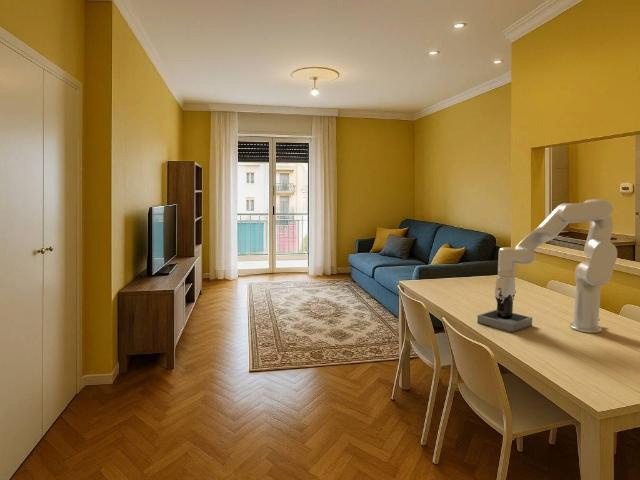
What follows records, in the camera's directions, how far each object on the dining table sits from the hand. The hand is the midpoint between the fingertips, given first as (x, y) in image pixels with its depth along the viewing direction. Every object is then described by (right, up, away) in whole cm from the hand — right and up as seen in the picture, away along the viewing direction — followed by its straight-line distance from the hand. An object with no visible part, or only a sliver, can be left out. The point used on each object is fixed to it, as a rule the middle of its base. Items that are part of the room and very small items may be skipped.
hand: (504, 309), depth 195 cm
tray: (0, -8, +1) cm, 8 cm away
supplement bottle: (0, -4, +1) cm, 5 cm away
